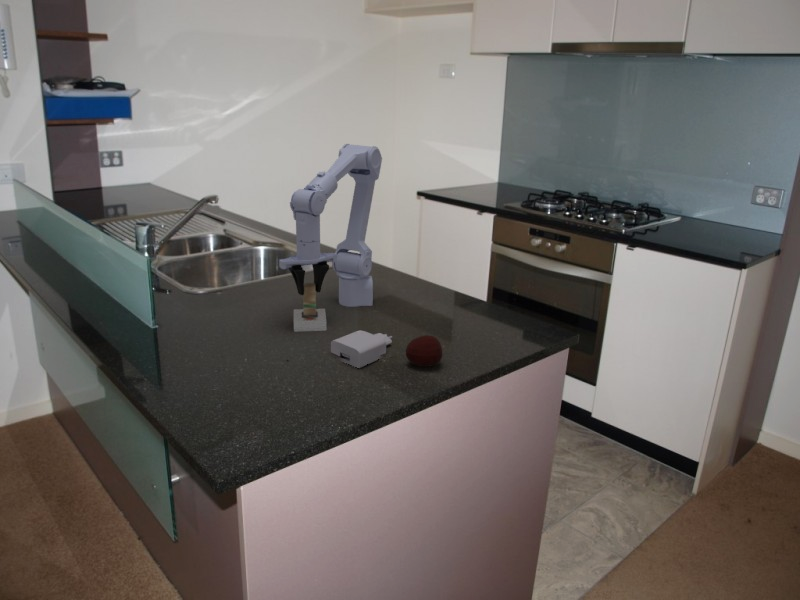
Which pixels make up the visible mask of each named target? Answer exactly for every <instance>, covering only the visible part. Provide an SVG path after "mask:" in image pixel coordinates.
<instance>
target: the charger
mask: <svg viewBox="0 0 800 600" xmlns="http://www.w3.org/2000/svg"><path fill="white" fill-rule="evenodd" d="M392 338H393V336H392V335H390V336H388V334H387V333H385V334H383V333H381V332H378V333H374V334H373V333H371V332H368V331H365V330H357V331H353V332H351V333H349V334H347V335H343V336H341V337H338V338H336V339H333V340H331V341H330V353H331V354H334V355H335V356H338V357H334V358H335V359H334V360H336V359H337V361H339V360H340V361H339V362H341V361H342V362H341V363H343V362H344V364H346V363H347V364H346V365H348V364H350V365H352V366H351V367H353V366H354V367H353V368H355V367H357V368H359V369H361V368H363V367H365V366H367V364H368V365H370V364H372V363H374V362H376V361H379V360H380V359H384V358H385V357H386V355H385V354H386V353H387V346H389V345H390V344H392V342H393V341H392ZM341 356H343V357H341ZM378 359H379V360H378ZM350 365H349V366H350ZM357 368H356V369H357Z"/></svg>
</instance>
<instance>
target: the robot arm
mask: <svg viewBox="0 0 800 600" xmlns="http://www.w3.org/2000/svg"><path fill="white" fill-rule="evenodd" d="M382 162H383V157H382V154H381V151H380V149H379V147H378V146H375V145H373V146H369V145H358V144H357V145H356V144H350V143H344V145H342V147H341V148H340V149H339V150H338V157H337V159H336V160H335V161H334V162H333V164H332V165H331V166H330V167H329V169H328V170H327V171H325V170H324V171H319V172H317V174H316V175H315V176H314V178H313V179H312V180H311V181H310V182H309V183H308V184H307V185H306V186H305V187H304V188H299V189H297V190H296V191H294V192H293V194H292V195H291V198H290V202H289V207H290V209H291V211H292V213H293V215H292V216H293V220H294V221H295V232H296V233H295V235H296V236H295V239H296V241H295V242H296V243H295V244H296V255H293V256H291V257H287V258H281V259H278V260H279V261H278V263H279V268H280V269H282V270H286V269H288V270H289V272H290V274H291V276H292V278H293V280H294V282H295V283H294V284H295V285H296V289H297V294H299V295H300V296H303V295H304V284H305V276H306V270H304V269H303V266H310V265H311V266H312V270H313V283H315V293H320V292H321V291H322V287H323V286H322V285H323V282H324V279H325V277H326V276H327V273H328V271H329V269H330V265H329V264H328V263H331V266H332V269H333V271H334V272H335V273H336V276H338V304H339V305H341V306H343V307H348V308H355V307H361V306H362V307H365V306H366V307H369V306H370V307H371V306H373V300H374V296H373V292H374V286H373V285H374V283H373V276H372V275H370V273H371V271H372V268H373V267H372V266H373V260H372V259H373V258H372V255H373V251H372V250H371V248H370V247H369V246H368V245H367V243H366V242H365V241H366V236H367V230H368V223H369V219H370V212H371V208H372V201H373V196H374V190H375V186H376V181H377V180H379V177H380V173H381V168H382ZM347 174H348V175H349V176H350V177H351V178H353V180H354V182H355V183H354V184H355V186H354V191H353V195H352V201H351V207H350V213H349V219H348V224H347V229H346V230H347V231H346V236H345V239H344V240H343V241H341V242H339V243H338V244H337V245H336V249H335V252H326V253H325V252H323V253H322V252H321V214H323V212H324V211H325V206H326V204H327V202H328V199H329V198H330V197H331V196H332V195H333V193H335V191H337V189H338V184H339V183H338V182H339V181H340V180H341V179H342V178H344V177H345V176H346V175H347ZM351 251H352V252H351ZM353 251H354V252H353Z"/></svg>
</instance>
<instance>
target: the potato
mask: <svg viewBox="0 0 800 600" xmlns="http://www.w3.org/2000/svg"><path fill="white" fill-rule="evenodd" d="M405 356H406V358H407V360H408V361H409V362H410V363H412V364H414V365H416V366H418V367H432V366H435V365H437V364H439V363H440V362H441V360H442V357H443V347H442V345H441V342H440V340H439V339H438V338H436V337H435V336H433V335H428V334H427V335H421V336H418V337H416V338H413V339H412V340H411V341H410V342H408V344H407V346H406V348H405Z"/></svg>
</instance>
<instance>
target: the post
mask: <svg viewBox="0 0 800 600" xmlns="http://www.w3.org/2000/svg"><path fill="white" fill-rule="evenodd" d="M316 293H317V292H316V291H315V283H314V282H313V283H305V282H304V295H302V309H304V315H316V309H317V300H316V298H317V297H316V295H317V294H316Z"/></svg>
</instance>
